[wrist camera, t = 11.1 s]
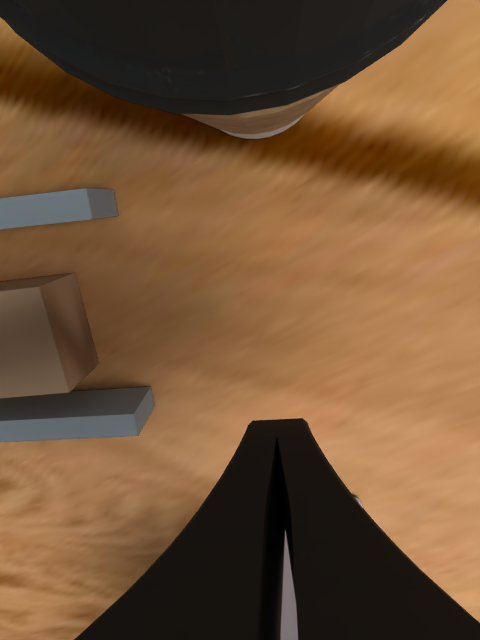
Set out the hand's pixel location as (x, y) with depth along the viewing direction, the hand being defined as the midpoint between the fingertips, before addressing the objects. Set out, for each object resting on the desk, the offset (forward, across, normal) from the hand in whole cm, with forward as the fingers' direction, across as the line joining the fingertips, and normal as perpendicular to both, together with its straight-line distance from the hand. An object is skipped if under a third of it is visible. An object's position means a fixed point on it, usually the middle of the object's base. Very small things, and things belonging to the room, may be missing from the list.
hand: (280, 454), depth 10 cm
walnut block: (+11, +14, 0) cm, 17 cm away
